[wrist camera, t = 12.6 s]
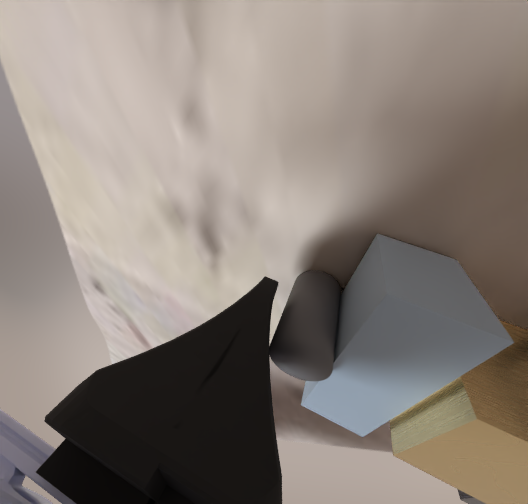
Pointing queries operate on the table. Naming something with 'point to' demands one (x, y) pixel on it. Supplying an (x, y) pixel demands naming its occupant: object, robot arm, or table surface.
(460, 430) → the brass block
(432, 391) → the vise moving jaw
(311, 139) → the table surface
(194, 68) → the table surface
